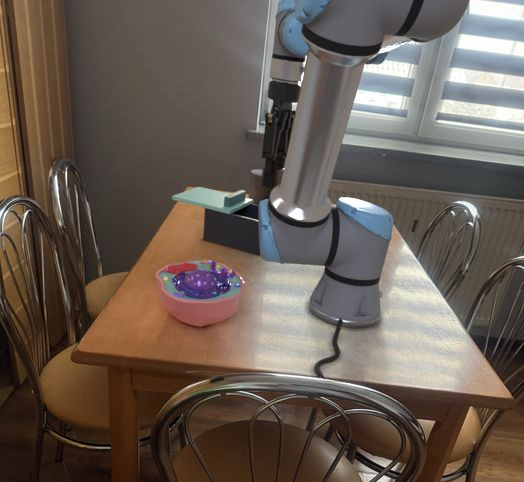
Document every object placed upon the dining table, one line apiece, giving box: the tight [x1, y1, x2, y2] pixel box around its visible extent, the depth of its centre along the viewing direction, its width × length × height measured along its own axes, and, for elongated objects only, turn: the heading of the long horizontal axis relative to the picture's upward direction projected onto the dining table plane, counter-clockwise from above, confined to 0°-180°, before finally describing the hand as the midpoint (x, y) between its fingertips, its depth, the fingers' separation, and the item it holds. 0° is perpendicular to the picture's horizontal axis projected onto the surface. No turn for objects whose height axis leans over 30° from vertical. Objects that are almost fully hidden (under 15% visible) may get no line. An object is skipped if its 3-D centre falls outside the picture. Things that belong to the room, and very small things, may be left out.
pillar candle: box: [247, 169, 273, 205], centre depth 159 cm, size 10×10×15 cm
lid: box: [171, 186, 253, 214], centre depth 138 cm, size 14×17×4 cm
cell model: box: [154, 259, 246, 328], centre depth 97 cm, size 17×20×11 cm
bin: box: [202, 204, 261, 256], centre depth 139 cm, size 14×17×9 cm
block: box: [261, 166, 284, 189], centre depth 127 cm, size 4×4×4 cm
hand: (272, 184), depth 128 cm, fingers closed on block, 4 cm apart
